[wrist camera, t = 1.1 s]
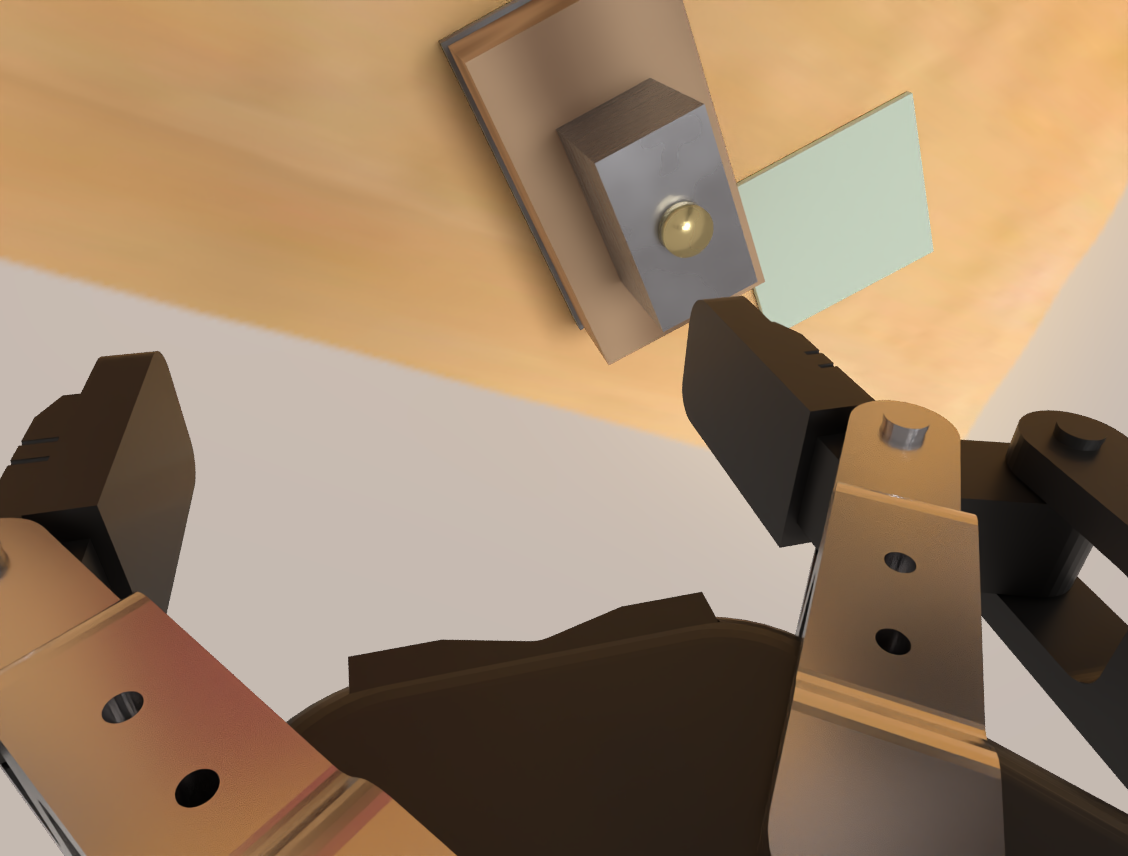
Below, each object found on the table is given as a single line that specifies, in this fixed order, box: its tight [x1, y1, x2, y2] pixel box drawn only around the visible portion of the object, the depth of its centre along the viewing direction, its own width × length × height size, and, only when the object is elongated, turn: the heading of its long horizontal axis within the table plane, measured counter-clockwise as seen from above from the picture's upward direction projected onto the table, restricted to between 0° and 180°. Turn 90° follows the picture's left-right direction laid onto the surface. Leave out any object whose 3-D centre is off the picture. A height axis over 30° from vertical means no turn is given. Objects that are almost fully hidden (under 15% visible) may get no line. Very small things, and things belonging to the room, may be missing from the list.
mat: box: [736, 92, 933, 328], centre depth 40 cm, size 10×9×1 cm
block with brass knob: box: [556, 78, 758, 332], centre depth 29 cm, size 4×7×6 cm, turn 24°
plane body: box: [439, 0, 765, 365], centre depth 33 cm, size 8×14×5 cm, turn 24°
